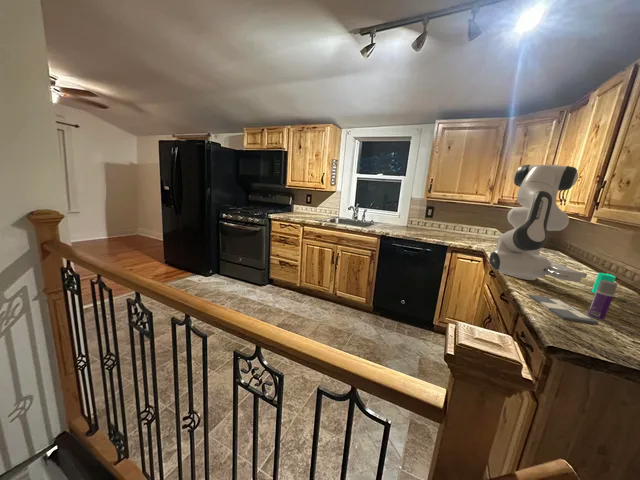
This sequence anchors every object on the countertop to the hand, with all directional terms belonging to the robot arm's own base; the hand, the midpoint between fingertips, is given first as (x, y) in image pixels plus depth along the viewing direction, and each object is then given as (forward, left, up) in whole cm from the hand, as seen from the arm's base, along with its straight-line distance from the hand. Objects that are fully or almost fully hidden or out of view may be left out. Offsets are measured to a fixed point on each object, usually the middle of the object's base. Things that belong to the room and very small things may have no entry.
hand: (574, 271), depth 99 cm
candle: (-32, +41, -18) cm, 55 cm away
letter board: (-3, +2, -18) cm, 18 cm away
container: (0, +13, -18) cm, 22 cm away
